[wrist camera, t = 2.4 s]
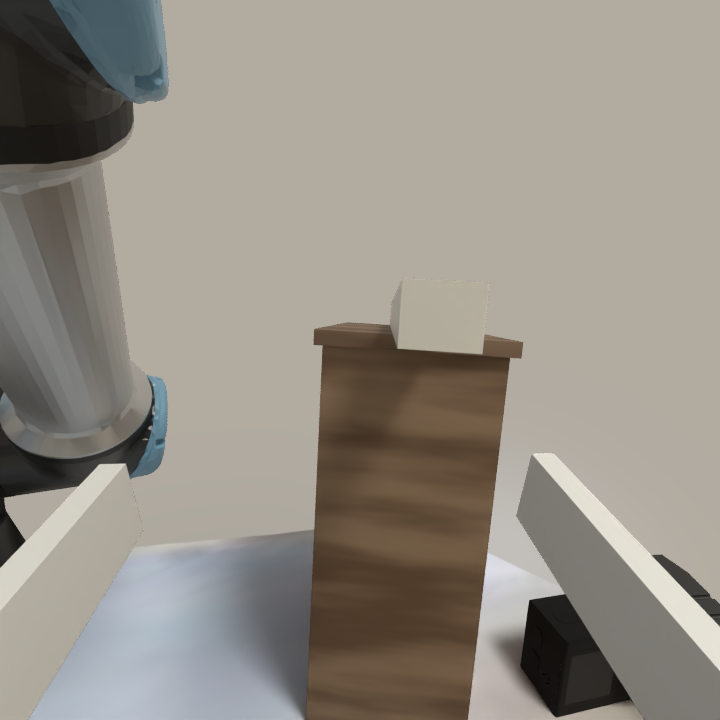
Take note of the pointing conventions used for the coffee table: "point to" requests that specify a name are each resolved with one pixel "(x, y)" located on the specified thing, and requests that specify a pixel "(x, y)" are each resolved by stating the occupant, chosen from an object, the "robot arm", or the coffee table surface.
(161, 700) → the coffee table surface
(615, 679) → the digital camera
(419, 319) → the off-white matte box
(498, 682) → the coffee table surface
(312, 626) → the plinth
